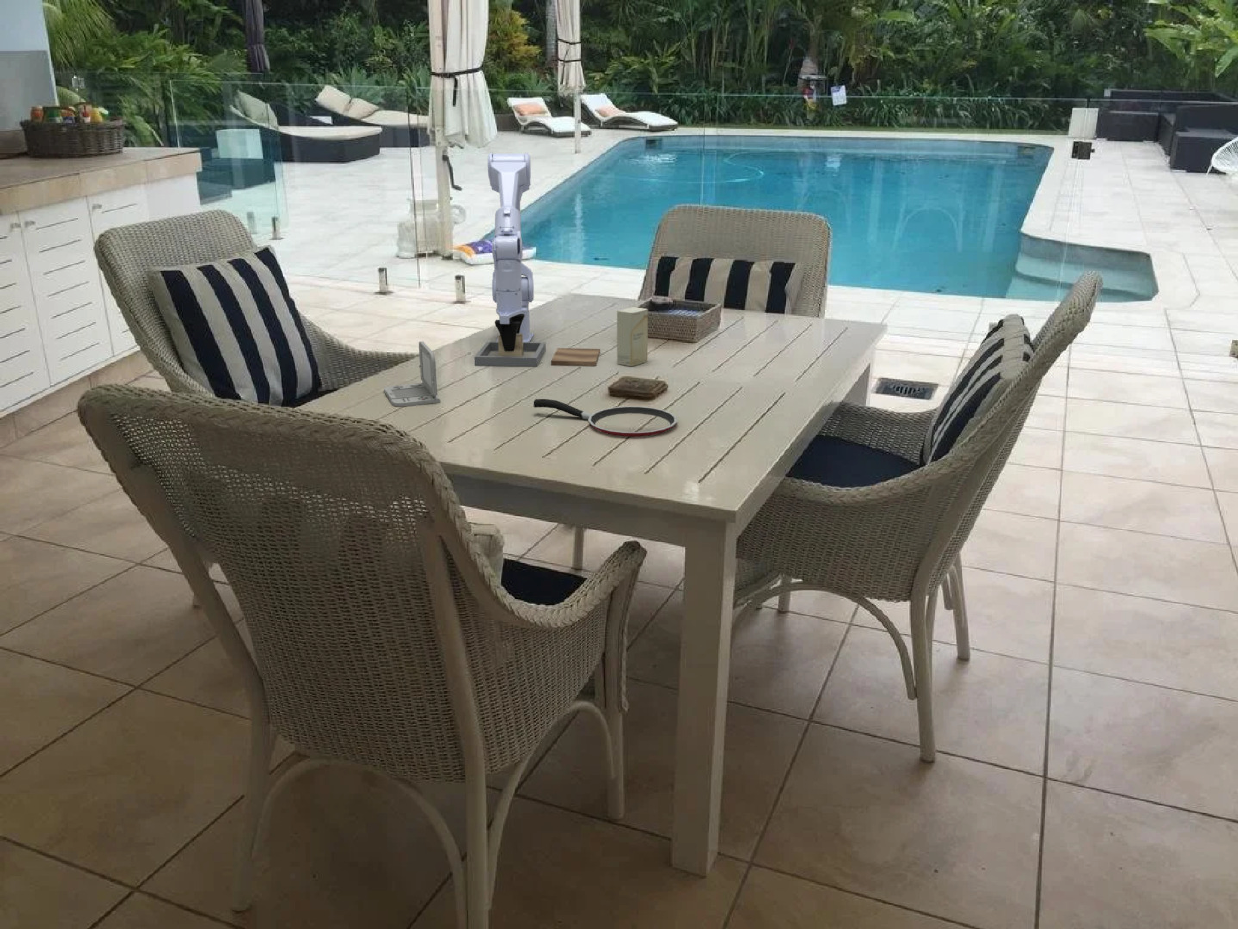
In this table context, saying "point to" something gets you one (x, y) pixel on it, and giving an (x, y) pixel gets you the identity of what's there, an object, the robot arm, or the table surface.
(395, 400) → the handheld gaming console
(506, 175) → the robot arm
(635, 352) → the skincare box
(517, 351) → the maple block
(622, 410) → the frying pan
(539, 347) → the grey bin
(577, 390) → the table surface
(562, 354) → the walnut board
